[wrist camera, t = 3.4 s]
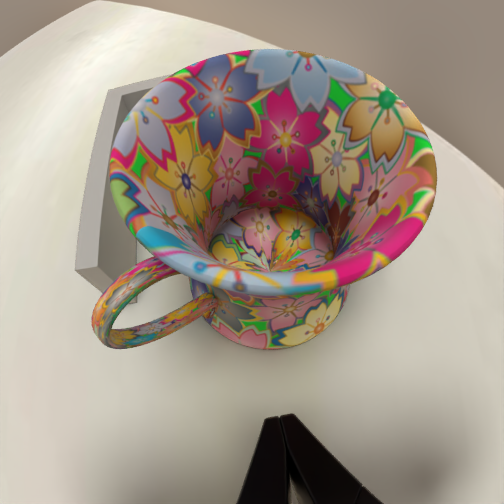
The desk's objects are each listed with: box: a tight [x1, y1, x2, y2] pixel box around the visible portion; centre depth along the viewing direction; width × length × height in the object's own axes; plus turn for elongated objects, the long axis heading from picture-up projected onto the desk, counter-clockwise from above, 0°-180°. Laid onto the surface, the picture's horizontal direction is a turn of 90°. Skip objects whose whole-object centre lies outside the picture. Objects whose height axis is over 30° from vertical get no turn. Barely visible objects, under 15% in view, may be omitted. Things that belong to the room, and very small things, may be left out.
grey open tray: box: [75, 75, 171, 303], centre depth 18 cm, size 14×15×5 cm
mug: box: [92, 49, 437, 349], centre depth 13 cm, size 12×9×11 cm
